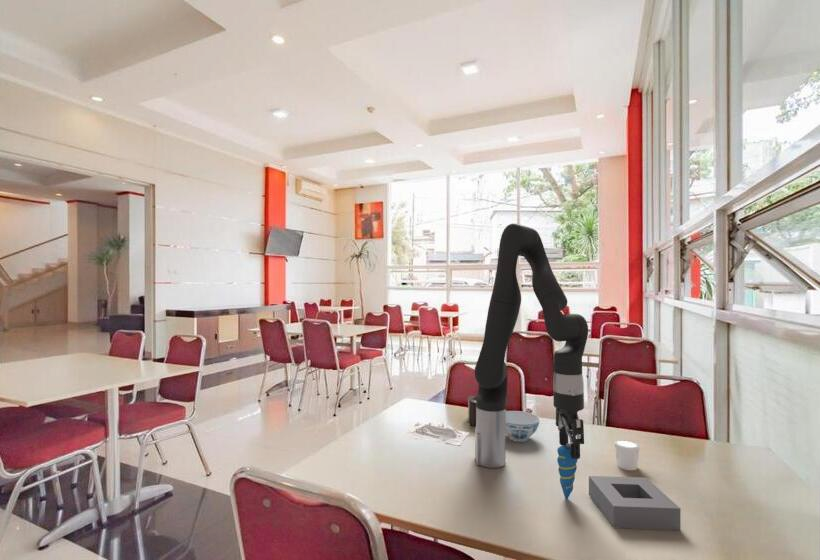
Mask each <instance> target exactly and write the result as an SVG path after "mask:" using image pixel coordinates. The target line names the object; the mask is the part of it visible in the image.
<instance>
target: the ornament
mask: <svg viewBox="0 0 820 560" xmlns="http://www.w3.org/2000/svg"><path fill="white" fill-rule="evenodd" d="M557 454H558V456H557V459H556V461H557V464H558V474H559V476H560V477H559V482H560V486H561V487H560V488H561V489H562V493H563V495H564V498H565V500H568V499H569V497H570V496H571V494H572V492H573V491H574V490H573V489H574V481H575V478H576V477H575V476H576V475H575V474H576V472H577V468H578V466H577V463H578V460H579V459H572V458H571V456H570V440H568V444H566V446H562V445H560V446H559V447H558V448H557Z"/></svg>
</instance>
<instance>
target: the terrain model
mask: <svg viewBox="0 0 820 560" xmlns="http://www.w3.org/2000/svg"><path fill="white" fill-rule="evenodd" d="M469 435H470V432H467V431H461V430H457V428H455V426H450V425H448V424H445V423H439V422H436V423H435V422H428V423H427V424H423V423H421V422H419V421H418V422H416V423H414V425H413V426H412V428H410V429H409V430H408V431H406V433H405V434H404V435H403V436H404V437H408V438H413V439H416V440H417V439H418V440H424V441H425V440H427V441H432V442H436V443H442V442H445V444H446V445H452V446H457V447H460V446H461V445H462V443H463V442H464V441H465V439H466V438H467V437H468V436H469Z"/></svg>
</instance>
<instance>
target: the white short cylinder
mask: <svg viewBox="0 0 820 560" xmlns="http://www.w3.org/2000/svg"><path fill="white" fill-rule="evenodd" d="M614 449H615V460H616V466H617V467H618V468H620V469H622V470H625V471H637V469H638V464H639V452H640V445H639V444H638V443H636V442H635V441H630V440H628V439H627V440H626V439H617V440H615V441H614Z"/></svg>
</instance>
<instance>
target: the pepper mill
mask: <svg viewBox="0 0 820 560" xmlns="http://www.w3.org/2000/svg"><path fill="white" fill-rule="evenodd" d="M476 398H477V394H476V395H469V396H468V397H467V400H468V401H467V407H468V411H467V412H468V413H467V414H468V418H467V419H468V424H469V426H470V427H476Z"/></svg>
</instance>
